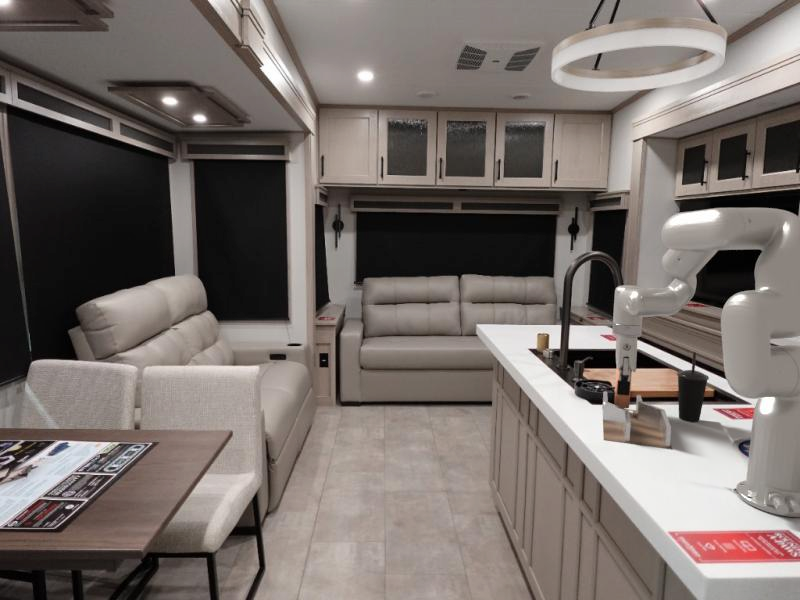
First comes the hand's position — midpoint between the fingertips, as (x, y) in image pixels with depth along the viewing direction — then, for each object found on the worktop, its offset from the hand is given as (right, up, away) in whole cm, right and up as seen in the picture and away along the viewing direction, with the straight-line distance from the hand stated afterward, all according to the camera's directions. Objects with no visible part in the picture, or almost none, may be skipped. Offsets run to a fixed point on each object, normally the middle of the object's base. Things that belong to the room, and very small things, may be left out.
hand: (622, 391), depth 148 cm
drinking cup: (+17, -8, -3) cm, 19 cm away
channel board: (-1, -9, -8) cm, 12 cm away
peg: (0, -4, +1) cm, 4 cm away
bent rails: (-1, -9, -8) cm, 12 cm away
